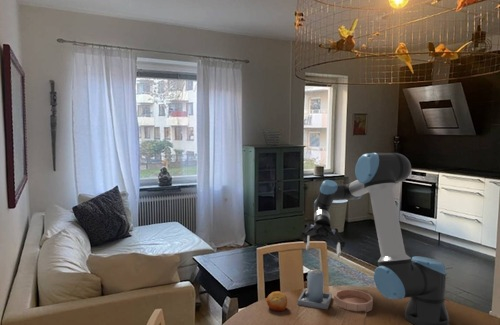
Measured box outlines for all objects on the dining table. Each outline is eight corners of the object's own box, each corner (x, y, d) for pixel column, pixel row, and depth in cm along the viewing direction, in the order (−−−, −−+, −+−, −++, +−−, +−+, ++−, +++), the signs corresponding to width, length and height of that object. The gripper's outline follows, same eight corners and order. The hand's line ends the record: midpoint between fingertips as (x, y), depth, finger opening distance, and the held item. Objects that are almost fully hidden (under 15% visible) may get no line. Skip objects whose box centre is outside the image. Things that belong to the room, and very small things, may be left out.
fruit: (287, 300, 156) (287, 288, 152) (286, 318, 150) (287, 305, 145) (267, 299, 157) (267, 287, 153) (266, 316, 151) (266, 304, 146)
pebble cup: (324, 299, 160) (324, 268, 159) (321, 305, 154) (322, 273, 153) (308, 297, 162) (309, 266, 161) (305, 302, 156) (306, 271, 155)
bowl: (373, 300, 161) (373, 292, 161) (371, 315, 147) (372, 306, 147) (336, 295, 166) (337, 287, 166) (332, 309, 152) (332, 300, 152)
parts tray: (331, 299, 162) (331, 293, 161) (327, 311, 150) (327, 304, 150) (303, 295, 166) (303, 289, 165) (297, 306, 154) (297, 299, 154)
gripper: (345, 233, 182) (349, 264, 164) (294, 221, 183) (292, 251, 165) (350, 220, 179) (354, 251, 160) (298, 208, 179) (296, 238, 161)
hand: (323, 251), depth 162 cm, fingers open, 13 cm apart
